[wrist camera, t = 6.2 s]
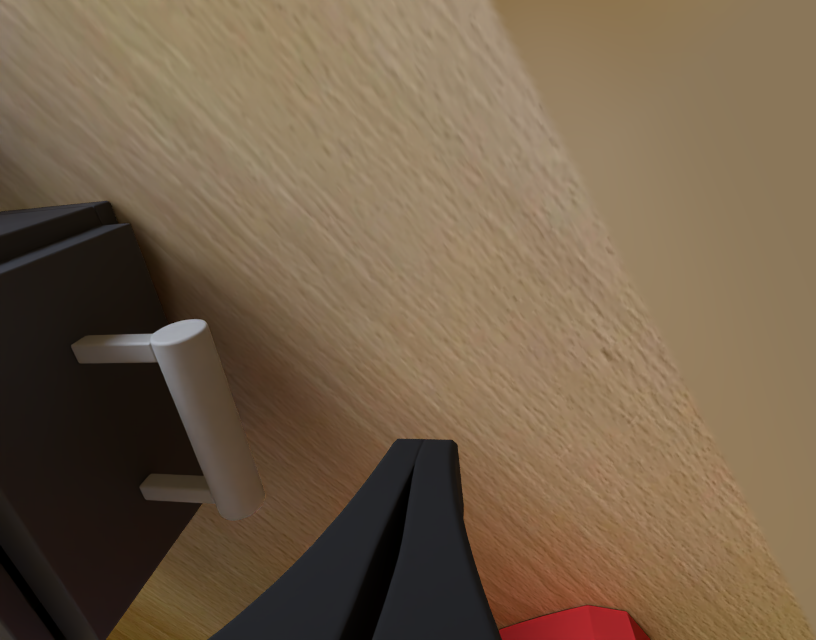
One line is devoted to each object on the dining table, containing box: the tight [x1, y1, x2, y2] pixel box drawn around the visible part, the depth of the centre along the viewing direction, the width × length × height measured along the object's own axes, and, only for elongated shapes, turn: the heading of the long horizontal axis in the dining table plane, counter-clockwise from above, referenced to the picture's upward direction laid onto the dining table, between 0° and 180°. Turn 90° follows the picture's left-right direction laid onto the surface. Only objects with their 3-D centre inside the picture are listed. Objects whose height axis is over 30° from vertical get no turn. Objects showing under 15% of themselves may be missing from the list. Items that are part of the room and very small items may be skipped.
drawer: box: [0, 223, 265, 640], centre depth 15 cm, size 14×10×7 cm
